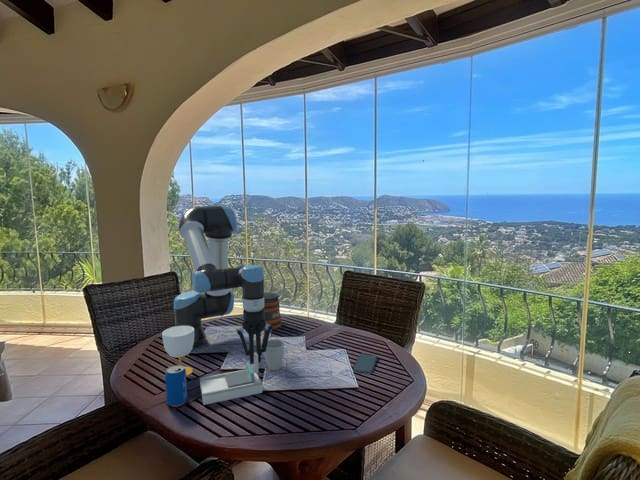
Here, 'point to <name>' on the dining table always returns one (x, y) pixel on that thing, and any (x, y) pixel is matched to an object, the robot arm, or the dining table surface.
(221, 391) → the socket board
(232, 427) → the dining table surface
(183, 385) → the beverage can
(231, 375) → the shutter
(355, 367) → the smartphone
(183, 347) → the cup
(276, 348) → the cup
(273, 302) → the beer stein
